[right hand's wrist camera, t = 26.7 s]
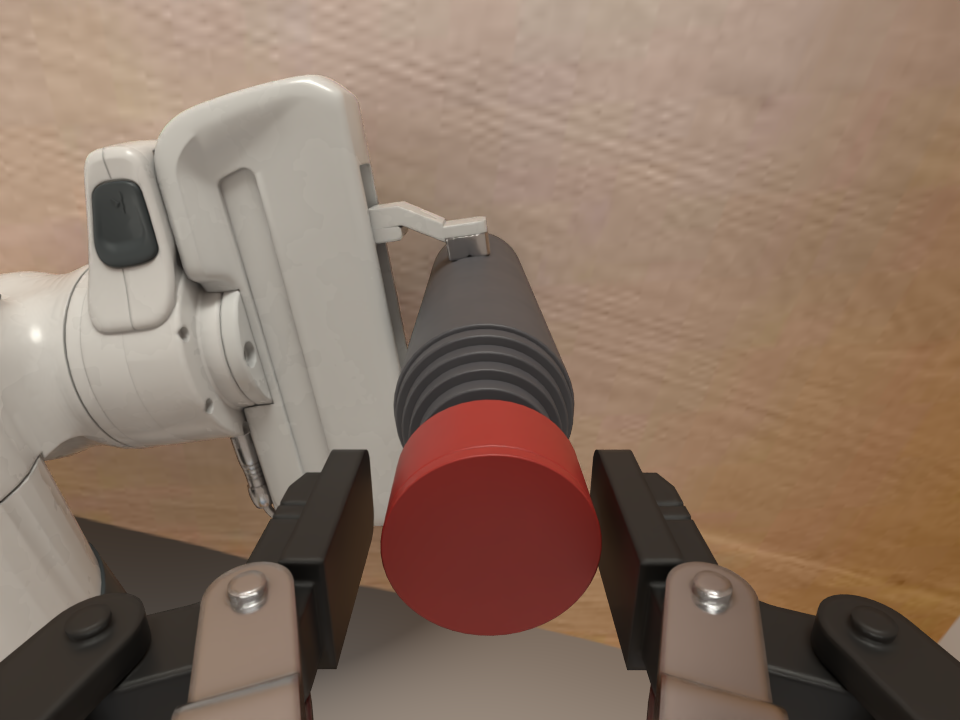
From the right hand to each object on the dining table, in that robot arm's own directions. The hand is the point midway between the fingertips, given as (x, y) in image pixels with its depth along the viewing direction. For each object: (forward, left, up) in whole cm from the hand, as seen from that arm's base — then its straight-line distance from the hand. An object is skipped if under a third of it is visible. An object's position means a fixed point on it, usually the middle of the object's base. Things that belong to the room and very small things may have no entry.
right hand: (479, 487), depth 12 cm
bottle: (0, 0, -20) cm, 20 cm away
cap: (0, 0, +2) cm, 2 cm away
